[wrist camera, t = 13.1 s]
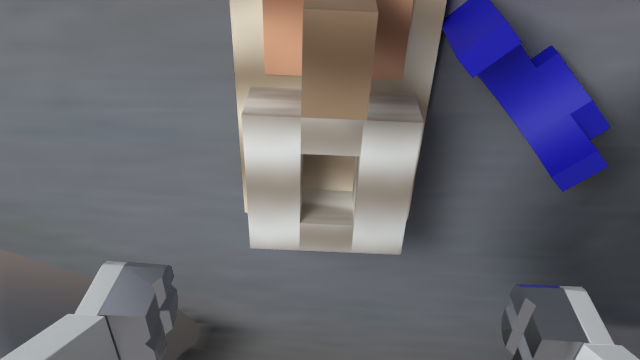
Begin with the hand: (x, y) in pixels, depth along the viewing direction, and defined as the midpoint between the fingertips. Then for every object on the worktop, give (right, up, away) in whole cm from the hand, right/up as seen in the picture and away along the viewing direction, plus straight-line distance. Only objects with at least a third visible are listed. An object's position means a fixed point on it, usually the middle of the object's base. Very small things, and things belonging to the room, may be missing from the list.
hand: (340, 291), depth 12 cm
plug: (+1, +13, +18) cm, 22 cm away
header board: (0, +9, +22) cm, 24 cm away
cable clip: (+13, +10, +21) cm, 27 cm away
